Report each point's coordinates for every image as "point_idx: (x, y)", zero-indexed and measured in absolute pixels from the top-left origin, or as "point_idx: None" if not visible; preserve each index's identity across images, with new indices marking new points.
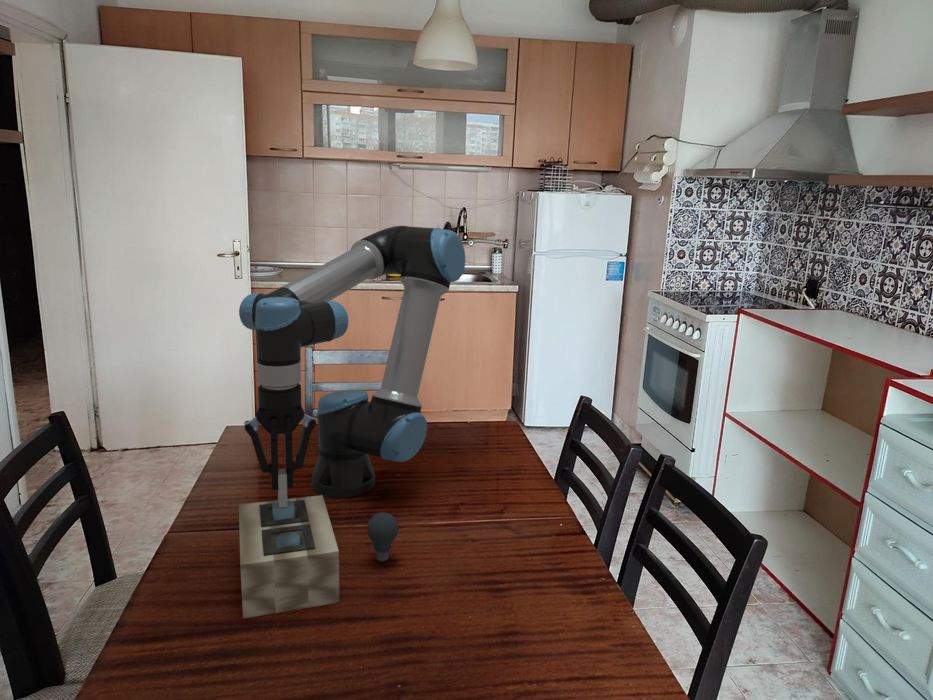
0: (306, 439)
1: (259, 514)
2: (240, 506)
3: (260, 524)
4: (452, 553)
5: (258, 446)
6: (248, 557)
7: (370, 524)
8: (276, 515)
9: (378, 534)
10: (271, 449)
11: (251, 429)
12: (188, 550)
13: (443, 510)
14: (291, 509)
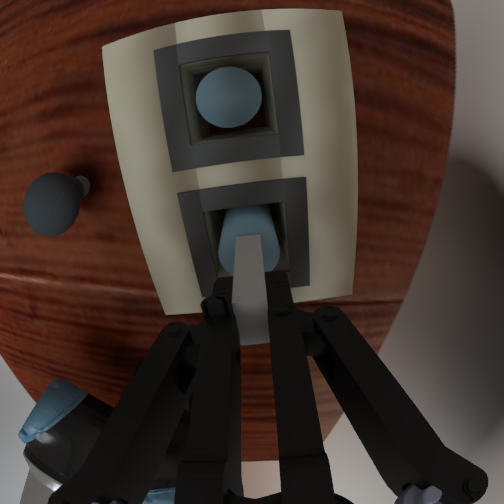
0: (110, 440)
1: (309, 245)
2: (349, 286)
3: (307, 193)
4: (12, 201)
5: (390, 408)
6: (327, 34)
7: (59, 198)
8: (267, 223)
9: (51, 175)
10: (312, 403)
11: (453, 486)
12: (395, 253)
13: (43, 307)
14: (225, 233)
